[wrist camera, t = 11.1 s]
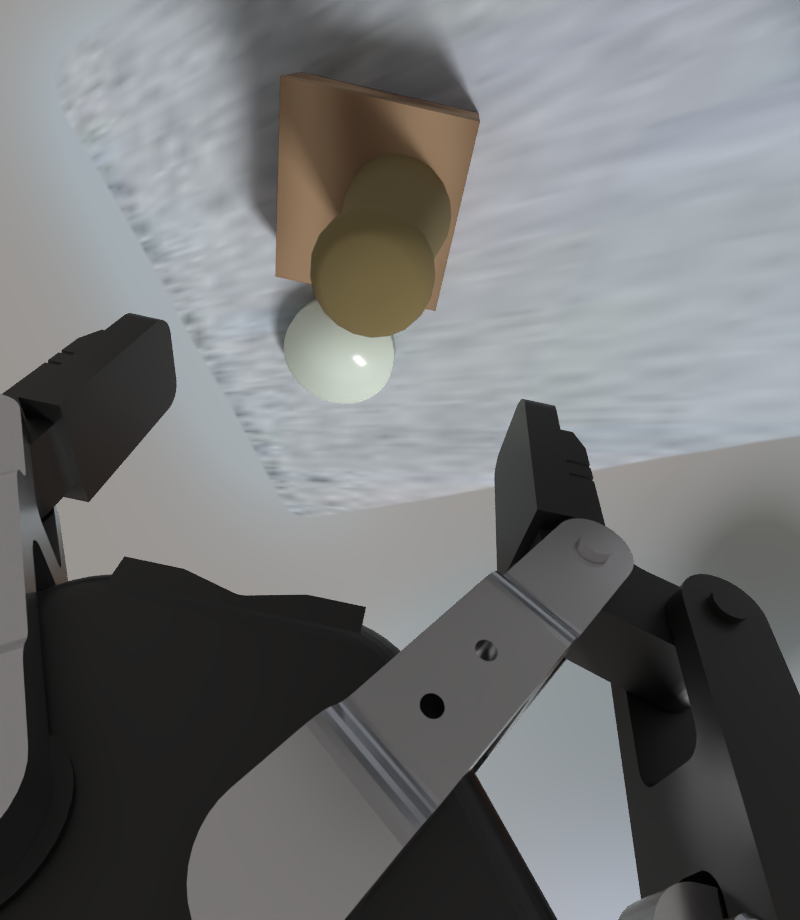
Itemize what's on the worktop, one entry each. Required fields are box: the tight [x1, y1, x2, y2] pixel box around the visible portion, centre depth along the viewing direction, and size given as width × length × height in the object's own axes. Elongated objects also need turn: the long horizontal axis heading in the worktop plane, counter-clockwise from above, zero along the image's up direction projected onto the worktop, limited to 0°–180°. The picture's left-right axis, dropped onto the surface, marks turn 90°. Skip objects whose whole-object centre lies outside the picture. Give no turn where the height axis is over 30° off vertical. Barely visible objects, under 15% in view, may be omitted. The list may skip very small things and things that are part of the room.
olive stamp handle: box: [310, 154, 451, 338], centre depth 24 cm, size 6×6×11 cm
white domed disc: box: [284, 299, 395, 404], centre depth 38 cm, size 8×8×2 cm
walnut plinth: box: [275, 72, 480, 311], centre depth 30 cm, size 10×10×4 cm
